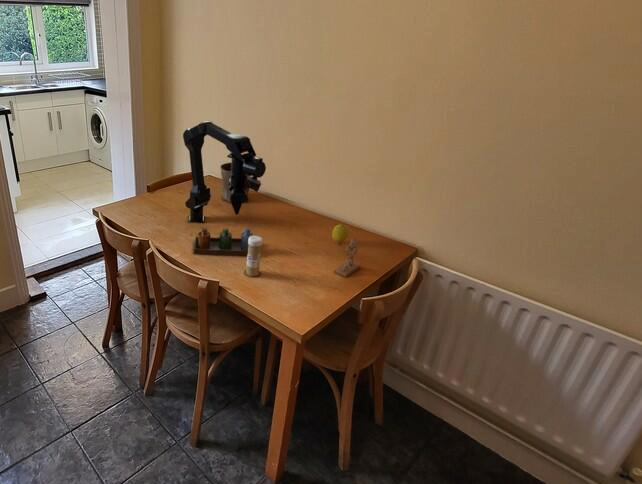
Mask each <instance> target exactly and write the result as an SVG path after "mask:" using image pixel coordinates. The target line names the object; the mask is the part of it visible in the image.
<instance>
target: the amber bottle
mask: <svg viewBox="0 0 642 484" xmlns="http://www.w3.org/2000/svg"><path fill="white" fill-rule="evenodd" d="M197 237H198V247H199V248H200V249H209V248H210V237H211V232H210V231H208V228H207V227H202V228H201V231H199V232H198V233H197Z"/></svg>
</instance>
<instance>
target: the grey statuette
mask: <svg viewBox="0 0 642 484" xmlns="http://www.w3.org/2000/svg"><path fill="white" fill-rule="evenodd" d="M356 245H357V239H356V238H352V239H351V240H350V241H349V244H348V245H347V246H346V247H345V249H344V254H345V255H346V259H345V262H344V264H343V265H342V266H340V267H339V268H337V269H336V270H335V273H336V274H338V275H341V276H343V277H345V278H347V277H348V276H350V275H351V274H353V273H354V272H356V271H357V270H358V269H360V265H359V264H357V263H355V262H354V256H355V255H356V254H357V253H358V247H357V246H356ZM348 252H349V253H348Z"/></svg>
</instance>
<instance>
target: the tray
mask: <svg viewBox="0 0 642 484" xmlns="http://www.w3.org/2000/svg"><path fill="white" fill-rule="evenodd" d="M193 254H194V255H213V256H215V255H216V256H238V257H242V256H243V257H247V256H248V250H242V249H241V237H240V238H239V237H232V243H231V249H229V250H223V249H220V248H219V237H215V236H214V237H212V236H210V248H209V249H200V248H199V247H198V236H195V237H194V246H193Z"/></svg>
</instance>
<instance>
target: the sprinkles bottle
mask: <svg viewBox="0 0 642 484" xmlns="http://www.w3.org/2000/svg"><path fill="white" fill-rule="evenodd" d="M248 244H249V246H248V256H246V268H245V269H246V270H245V274H246V275H247V276H250V277H257V276H259V274H260V265H261V257H262V256H261V255H262V245H263V238H262V237H261V236H259V235H253V236H250V237H249V239H248Z"/></svg>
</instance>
